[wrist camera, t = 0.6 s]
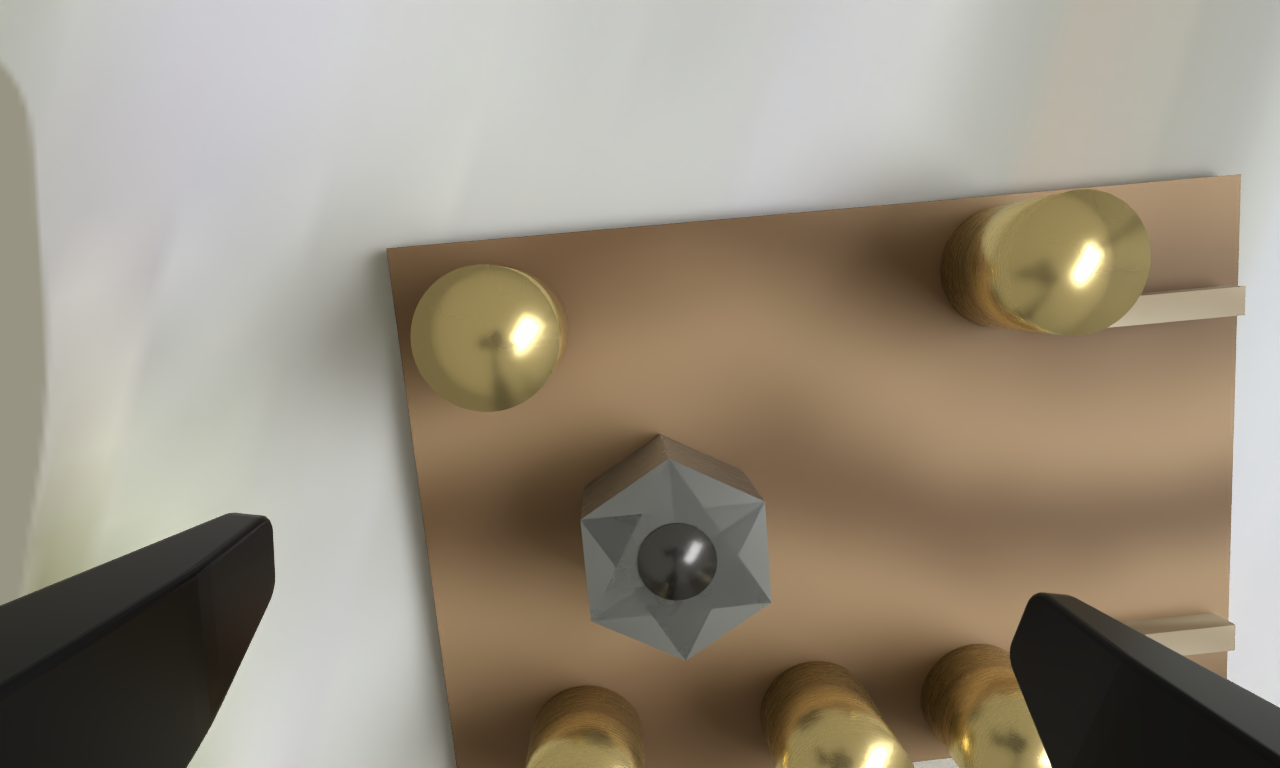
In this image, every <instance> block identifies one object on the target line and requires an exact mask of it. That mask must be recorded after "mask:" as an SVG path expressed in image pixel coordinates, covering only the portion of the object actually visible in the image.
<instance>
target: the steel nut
mask: <svg viewBox="0 0 1280 768" xmlns="http://www.w3.org/2000/svg"><path fill="white" fill-rule="evenodd" d="M580 521H581V531H582V541H583V550H584V560H585V570H586V579H587V589H588V598H589V608H590V618H591V621H592V622H594V623H597V624H599V625H601V626H604V627H606V628H609V629H611V630H613V631H616V632H618V633H621V634H623V635H625V636H628V637H630V638H633V639H635V640H637V641H640V642H642V643H645V644H647V645H649V646H652V647H654V648H657V649H659V650H661V651H664V652H666V653H668V654H671V655H673V656H676V657H678V658H680V659H683V660H685V661H686V660H688V659H689V658H690V657H692V656H693V655H695V654H696V653H698V652H699V651H701V650H702V649H704V648H705V647H707V646H708V645H710V644H711V643H713V642H714V641H716V640H717V639H718V638H720V637H721V636H723V635H724V634H726V633H727V632H729V631H730V630H732V629H733V628H735V627H736V626H738V625H739V624H741V623H742V622H744V621H745V620H746V619H748V618H749V617H751V616H752V615H754V614H755V613H757V612H758V611H760V610H761V609H763V608H764V607H766V606H767V605H769V604H770V603H772V600H771V585H770V570H769V555H768V540H767V525H766V510H765V501H764V500H763V498H762V497H761V495H760V494H759V493H758V491H757V490H756V488H755V487H754V486H753V484H752V483H751V482H750V480H749V479H748V477H747V476H746V475H745V473H744V472H743V471H742V470H740V469H738V468H736V467H733V466H731V465H729V464H727V463H724V462H722V461H720V460H718V459H715V458H713V457H711V456H709V455H707V454H704V453H702V452H700V451H698V450H695V449H693V448H691V447H689V446H687V445H684V444H682V443H680V442H678V441H675V440H673V439H671V438H669V437H667V436H664V435H662V434H659V435H657V436H656V437H654V438H653V439H651V440H650V441H649V442H647V443H646V444H644V445H643V446H641V447H640V448H639V449H637V450H636V451H634V452H633V453H631V454H630V455H629V456H627V457H626V458H624V459H623V460H621V461H620V462H618V463H617V464H616V465H614V466H613V467H611V468H610V469H608V470H607V471H606V472H604V473H603V474H601V475H600V476H598V477H597V478H596V479H594V480H593V481H591V482H590V483H588V484H587V485H585V486H584V494H583V502H582V510H581V518H580Z"/></svg>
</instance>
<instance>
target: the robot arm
mask: <svg viewBox="0 0 1280 768" xmlns="http://www.w3.org/2000/svg"><path fill="white" fill-rule="evenodd" d="M274 585H275V565H274V546H273V529H272V525H271V522H270V520H269V519H268V518H267V517H265V516H261V515H251V514H241V513H228V514H225V515H223V516H220V517H218V518H215V519H213V520H210V521H208V522H205V523H203V524H200V525H198V526H195V527H193V528H191V529H188V530H186V531H183V532H181V533H178V534H176V535H173V536H171V537H168V538H166V539H163V540H161V541H158V542H156V543H154V544H151V545H149V546H146V547H144V548H141V549H139V550H136V551H134V552H131V553H129V554H126V555H124V556H122V557H119V558H117V559H114V560H112V561H109V562H107V563H104V564H102V565H99V566H97V567H94V568H92V569H90V570H87V571H85V572H82V573H80V574H77V575H75V576H72V577H70V578H67V579H65V580H62V581H60V582H58V583H55V584H53V585H50V586H48V587H45V588H43V589H40V590H38V591H35V592H33V593H30V594H28V595H25V596H23V597H21V598H18V599H16V600H13V601H11V602H8V603H6V604H3V605H1V606H0V768H187V766H188V764H189V763H190V761H191V759H192V758H193V756H194V754H195V753H196V751H197V749H198V748H199V746H200V744H201V742H202V741H203V739H204V737H205V735H206V734H207V732H208V730H209V728H210V727H211V725H212V723H213V721H214V719H215V717H216V715H217V713H218V711H219V709H220V707H221V705H222V703H223V701H224V699H225V696H226V694H227V692H228V690H229V688H230V686H231V684H232V681H233V679H234V677H235V675H236V673H237V671H238V669H239V666H240V664H241V662H242V660H243V658H244V656H245V654H246V651H247V649H248V647H249V645H250V643H251V641H252V638H253V636H254V634H255V632H256V630H257V628H258V626H259V623H260V621H261V619H262V617H263V615H264V613H265V611H266V608H267V606H268V604H269V602H270V600H271V597H272V594H273V590H274ZM1010 662H1011V666H1012V669H1013V672H1014V674H1015V677H1016V679H1017V682H1018V684H1019V687H1020V689H1021V692H1022V694H1023V697H1024V699H1025V702H1026V704H1027V707H1028V709H1029V712H1030V714H1031V717H1032V719H1033V722H1034V724H1035V727H1036V729H1037V732H1038V734H1039V737H1040V739H1041V742H1042V744H1043V747H1044V749H1045V752H1046V754H1047V757H1048V759H1049V762H1050V764H1051V767H1052V768H1280V708H1279V707H1277V706H1276V705H1274V704H1272V703H1270V702H1268V701H1266V700H1264V699H1263V698H1261V697H1259V696H1257V695H1255V694H1253V693H1251V692H1250V691H1248V690H1246V689H1244V688H1242V687H1240V686H1238V685H1237V684H1235V683H1233V682H1231V681H1229V680H1227V679H1225V678H1224V677H1222V676H1220V675H1218V674H1216V673H1214V672H1213V671H1211V670H1209V669H1207V668H1205V667H1203V666H1201V665H1200V664H1198V663H1196V662H1194V661H1192V660H1190V659H1188V658H1187V657H1185V656H1183V655H1181V654H1179V653H1177V652H1175V651H1174V650H1172V649H1170V648H1168V647H1166V646H1164V645H1162V644H1161V643H1159V642H1157V641H1155V640H1153V639H1151V638H1149V637H1148V636H1146V635H1144V634H1142V633H1140V632H1138V631H1137V630H1135V629H1133V628H1131V627H1129V626H1127V625H1125V624H1124V623H1122V622H1120V621H1118V620H1116V619H1114V618H1112V617H1111V616H1109V615H1107V614H1105V613H1103V612H1101V611H1099V610H1098V609H1096V608H1094V607H1092V606H1090V605H1088V604H1086V603H1085V602H1083V601H1081V600H1079V599H1077V598H1075V597H1073V596H1070V595H1066V594H1055V593H1045V592H1039V593H1036V594H1034V595H1033V596H1032V597H1031V598H1030V599H1029V601H1028V602H1027V605H1026V607H1025V610H1024V612H1023V615H1022V617H1021V620H1020V622H1019V625H1018V627H1017V630H1016V632H1015V635H1014V637H1013V640H1012V642H1011V646H1010Z"/></svg>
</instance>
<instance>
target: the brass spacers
mask: <svg viewBox="0 0 1280 768" xmlns="http://www.w3.org/2000/svg"><path fill="white" fill-rule="evenodd" d="M1150 261H1151V251H1150V243H1149V238H1148V235H1147V232H1146V229H1145V227H1144V225H1143V223H1142V221H1141V219H1140V218H1139V216H1138V215H1137V213H1136V212H1135V211H1134V210H1133V209H1132V208H1131V207H1130V206H1129V205H1128V204H1127V203H1125V202H1124V201H1123V200H1121V199H1119V198H1118V197H1116V196H1114V195H1112V194H1109V193H1107V192H1103V191H1099V190H1092V189H1079V190H1073V191H1067V192H1063V193H1058V194H1053V195H1048V196H1043V197H1039V198H1034V199H1029V200H1024V201H1019V202H1015V203H1010V204H1005V205H1000V206H995V207H991V208H987V209H984V210H981V211H979V212H977V213H975V214H973V215H971V216H970V217H968V218H967V219H966V220H965V221H963V222H962V223H961V224H960V225H959V226H958V227H957V228H956V229H955V231H954V232H953V233H952V235H951V236H950V238H949V240H948V242H947V244H946V246H945V249H944V252H943V255H942V260H941V269H940V274H941V282H942V287H943V290H944V293H945V295H946V297H947V299H948V301H949V303H950V304H951V306H952V307H953V308H954V309H955V310H956V311H957V312H958V314H960V315H961V316H962V317H964V318H965V319H967V320H968V321H970V322H972V323H974V324H977V325H980V326H984V327H992V328H1002V329H1011V330H1020V331H1030V332H1039V333H1049V334H1058V335H1068V336H1081V335H1088V334H1092V333H1095V332H1099V331H1101V330H1103V329H1105V328H1108V327H1109V326H1111V325H1113V324H1114V323H1116V322H1117V321H1118V320H1120V319H1121V318H1122V317H1123V316H1124V315H1125V314H1126V313H1127V312H1128V311H1129V310H1130V309H1131V308H1132V307H1133V306H1134V304H1135V303H1136V302H1137V300H1138V298H1139V297H1140V295H1141V293H1142V291H1143V289H1144V287H1145V284H1146V281H1147V278H1148V275H1149V270H1150ZM410 338H411V348H412V353H413V357H414V360H415V363H416V365H417V367H418V369H419V372H420V374H421V375H422V377H423V378H424V380H425V381H426V382H427V383H428V385H429V386H430V387H431V388H432V389H433V390H434V391H435V392H436V393H437V394H438V395H440V396H441V397H442V398H444V399H445V400H447V401H448V402H450V403H452V404H454V405H456V406H459V407H462V408H464V409H468V410H472V411H480V412H495V411H501V410H506V409H509V408H513V407H515V406H517V405H519V404H521V403H523V402H525V401H526V400H528V399H530V398H531V397H532V396H533V395H535V394H536V393H537V392H538V391H539V390H540V389H541V388H542V387H543V385H544V384H545V383H546V381H547V380H548V379H549V377H550V376H551V374H552V373H553V371H554V370H555V368H556V367H557V365H558V364H559V362H560V360H561V358H562V356H563V354H564V352H565V349H566V345H567V341H568V321H567V316H566V313H565V309H564V307H563V305H562V303H561V301H560V299H559V297H558V296H557V294H556V293H555V292H554V291H553V289H552V288H551V287H550V286H549V285H548V284H546V283H545V282H544V281H543V280H541V279H540V278H538V277H536V276H535V275H533V274H530V273H528V272H525V271H522V270H518V269H513V268H508V267H502V266H497V265H489V264H476V265H470V266H465V267H462V268H458V269H456V270H453V271H451V272H449V273H447V274H446V275H444V276H442V277H441V278H439V279H438V280H437V281H436V282H435V283H433V284H432V285H431V286H430V288H429V289H428V290H427V291H426V292H425V294H424V295H423V296H422V298H421V299H420V301H419V303H418V305H417V307H416V310H415V313H414V315H413V319H412V324H411V335H410ZM921 707H922V712H923V715H924V718H925V720H926V722H927V724H928V725H929V727H930V728H931V730H932V731H933V732H934V734H935V735H936V736H937V738H938V739H939V741H940V742H941V743H942V745H943V746H944V747H945V749H946V750H947V752H948V753H949V754H950V756H951V757H952V758H953V760H954V761H955V763H956V764H957V765H958V767H959V768H1052V767H1051V764H1050V762H1049V759H1048V757H1047V754H1046V752H1045V749H1044V747H1043V744H1042V742H1041V739H1040V737H1039V734H1038V732H1037V729H1036V727H1035V724H1034V722H1033V719H1032V717H1031V714H1030V712H1029V709H1028V707H1027V704H1026V702H1025V699H1024V697H1023V694H1022V692H1021V689H1020V687H1019V684H1018V682H1017V679H1016V677H1015V674H1014V672H1013V669H1012V666H1011V662H1010V653H1009V652H1007V651H1006V650H1004V649H1002V648H999V647H997V646H993V645H988V644H972V645H966V646H963V647H959V648H957V649H955V650H953V651H951V652H949V653H948V654H946V655H945V656H943V657H942V658H941V659H940V660H939V661H938V662H937V663H936V664H935V665H934V666H933V667H932V669H931V670H930V672H929V673H928V675H927V677H926V679H925V681H924V684H923V687H922V693H921ZM760 722H761V727H762V731H763V734H764V737H765V740H766V743H767V746H768V748H769V751H770V754H771V757H772V760H773V763H774V766H775V768H914V765H913V763H912V762H911V760H910V758H909V757H908V755H907V754H906V752H905V750H904V749H903V747H902V746H901V744H900V743H899V741H898V739H897V738H896V736H895V735H894V733H893V732H892V730H891V728H890V727H889V725H888V724H887V722H886V721H885V719H884V717H883V716H882V714H881V713H880V711H879V710H878V708H877V706H876V705H875V703H874V702H873V700H872V699H871V697H870V695H869V694H868V692H867V691H866V689H865V688H864V686H863V684H862V683H861V681H860V680H859V679H858V678H857V677H856V676H855V675H854V674H853V673H852V672H851V671H849V670H848V669H846V668H844V667H842V666H840V665H838V664H835V663H831V662H826V661H811V662H805V663H801V664H798V665H796V666H793V667H791V668H789V669H788V670H786V671H784V672H783V673H782V674H780V675H779V676H778V677H777V678H776V679H775V680H774V681H773V682H772V684H771V685H770V686H769V688H768V689H767V691H766V693H765V695H764V697H763V700H762V704H761V709H760ZM525 768H646V767H645V754H644V740H643V730H642V724H641V721H640V718H639V716H638V714H637V712H636V711H635V709H634V708H633V706H632V705H631V704H630V703H629V702H628V701H627V700H626V699H625V698H624V697H622V696H621V695H619V694H618V693H616V692H614V691H612V690H610V689H607V688H604V687H599V686H591V685H586V686H577V687H572V688H569V689H566V690H564V691H561V692H559V693H558V694H556V695H554V696H553V697H552V698H550V699H549V700H548V701H547V702H546V703H545V704H544V705H543V706H542V708H541V709H540V710H539V712H538V714H537V715H536V717H535V720H534V722H533V726H532V730H531V735H530V741H529V747H528V752H527V758H526V764H525Z"/></svg>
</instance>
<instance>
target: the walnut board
mask: <svg viewBox="0 0 1280 768" xmlns="http://www.w3.org/2000/svg"><path fill="white" fill-rule="evenodd" d="M1240 187H1241V174H1238V175H1227V176H1215V177H1204V178H1192V179H1181V180H1169V181H1158V182H1146V183H1135V184H1123V185H1112V186H1100V187H1089V188H1077V189H1066V190H1054V191H1043V192H1031V193H1020V194H1008V195H997V196H985V197H974V198H962V199H951V200H939V201H928V202H916V203H905V204H893V205H882V206H870V207H859V208H847V209H836V210H824V211H813V212H801V213H790V214H778V215H767V216H755V217H744V218H732V219H721V220H709V221H698V222H686V223H675V224H663V225H652V226H640V227H628V228H617V229H605V230H594V231H582V232H571V233H559V234H548V235H536V236H525V237H513V238H502V239H490V240H479V241H467V242H456V243H444V244H433V245H421V246H410V247H398V248H387V256H388V263H389V271H390V278H391V285H392V293H393V300H394V307H395V315H396V322H397V329H398V337H399V344H400V351H401V359H402V366H403V374H404V381H405V388H406V396H407V403H408V410H409V418H410V425H411V432H412V440H413V447H414V455H415V462H416V469H417V477H418V484H419V491H420V499H421V506H422V513H423V521H424V528H425V535H426V543H427V550H428V558H429V565H430V572H431V580H432V587H433V594H434V602H435V609H436V616H437V624H438V631H439V639H440V646H441V653H442V661H443V668H444V675H445V683H446V690H447V697H448V705H449V712H450V719H451V727H452V734H453V742H454V749H455V756H456V764H457V768H525V764H526V758H527V752H528V747H529V741H530V735H531V730H532V726H533V722H534V720H535V717H536V715H537V714H538V712H539V710H540V709H541V708H542V706H543V705H544V704H545V703H546V702H547V701H548V700H549V699H550V698H552V697H553V696H554V695H556V694H558V693H559V692H561V691H564V690H566V689H569V688H572V687H577V686H586V685H591V686H599V687H604V688H607V689H610V690H612V691H614V692H616V693H618V694H619V695H621V696H622V697H624V698H625V699H626V700H627V701H628V702H629V703H630V704H631V705H632V706H633V708H634V709H635V711H636V712H637V714H638V716H639V718H640V721H641V724H642V730H643V740H644V754H645V767H646V768H775V766H774V763H773V760H772V757H771V754H770V751H769V748H768V746H767V743H766V740H765V737H764V734H763V731H762V727H761V722H760V709H761V704H762V700H763V697H764V695H765V693H766V691H767V689H768V688H769V686H770V685H771V684H772V682H773V681H774V680H775V679H776V678H777V677H778V676H779V675H780V674H782V673H783V672H784V671H786V670H788V669H789V668H791V667H793V666H796V665H798V664H801V663H805V662H811V661H826V662H831V663H835V664H838V665H840V666H842V667H844V668H846V669H848V670H849V671H851V672H852V673H853V674H854V675H855V676H856V677H857V678H858V679H859V680H860V681H861V683H862V684H863V686H864V688H865V689H866V691H867V692H868V694H869V695H870V697H871V699H872V700H873V702H874V703H875V705H876V706H877V708H878V710H879V711H880V713H881V714H882V716H883V717H884V719H885V721H886V722H887V724H888V725H889V727H890V728H891V730H892V732H893V733H894V735H895V736H896V738H897V739H898V741H899V743H900V744H901V746H902V747H903V749H904V750H905V752H906V754H907V755H908V757H909V758H910V760H911V762H917V761H926V760H935V759H944V758H952V757H951V756H950V754H949V753H948V752H947V750H946V749H945V747H944V746H943V745H942V743H941V742H940V741H939V739H938V738H937V736H936V735H935V734H934V732H933V731H932V730H931V728H930V727H929V725H928V724H927V722H926V720H925V718H924V715H923V712H922V707H921V693H922V687H923V684H924V681H925V679H926V677H927V675H928V673H929V672H930V670H931V669H932V667H933V666H934V665H935V664H936V663H937V662H938V661H939V660H940V659H941V658H942V657H943V656H945V655H946V654H948V653H949V652H951V651H953V650H955V649H957V648H959V647H963V646H966V645H972V644H988V645H993V646H997V647H999V648H1002V649H1004V650H1006V651H1007V652H1009V653H1010V646H1011V642H1012V640H1013V637H1014V635H1015V632H1016V630H1017V627H1018V625H1019V622H1020V620H1021V617H1022V615H1023V612H1024V610H1025V607H1026V605H1027V602H1028V601H1029V599H1030V598H1031V597H1032V596H1033V595H1034V594H1036V593H1039V592H1045V593H1055V594H1066V595H1070V596H1073V597H1075V598H1077V599H1079V600H1081V601H1083V602H1085V603H1086V604H1088V605H1090V606H1092V607H1094V608H1096V609H1098V610H1099V611H1101V612H1103V613H1105V614H1107V615H1109V616H1111V617H1112V618H1114V619H1116V620H1118V621H1120V622H1122V623H1124V624H1125V625H1127V626H1129V627H1131V628H1133V629H1135V630H1137V631H1138V632H1140V633H1142V634H1144V635H1146V636H1148V637H1149V638H1151V639H1153V640H1155V641H1157V642H1159V643H1161V644H1162V645H1164V646H1166V647H1168V648H1170V649H1172V650H1174V651H1175V652H1177V653H1179V654H1181V655H1183V656H1185V657H1187V658H1188V659H1190V660H1192V661H1194V662H1196V663H1198V664H1200V665H1201V666H1203V667H1205V668H1207V669H1209V670H1211V671H1213V672H1214V673H1216V674H1218V675H1220V676H1222V677H1224V678H1225V679H1227V651H1231V650H1235V625H1234V624H1233V623H1231V622H1229V621H1228V609H1229V574H1230V539H1231V504H1232V469H1233V433H1234V398H1235V363H1236V328H1237V316H1239V315H1245V286H1238V257H1239V222H1240ZM1079 189H1092V190H1099V191H1103V192H1107V193H1109V194H1112V195H1114V196H1116V197H1118V198H1119V199H1121V200H1123V201H1124V202H1125V203H1127V204H1128V205H1129V206H1130V207H1131V208H1132V209H1133V210H1134V211H1135V212H1136V213H1137V215H1138V216H1139V218H1140V219H1141V221H1142V223H1143V225H1144V227H1145V229H1146V232H1147V235H1148V238H1149V243H1150V251H1151V261H1150V270H1149V275H1148V278H1147V281H1146V284H1145V287H1144V289H1143V291H1142V293H1141V295H1140V297H1139V298H1138V300H1137V302H1136V303H1135V304H1134V306H1133V307H1132V308H1131V309H1130V310H1129V311H1128V312H1127V313H1126V314H1125V315H1124V316H1123V317H1122V318H1121V319H1120V320H1118V321H1117V322H1116V323H1114V324H1113V325H1111V326H1109V327H1108V328H1105V329H1103V330H1101V331H1099V332H1095V333H1092V334H1088V335H1081V336H1068V335H1058V334H1049V333H1039V332H1030V331H1020V330H1011V329H1002V328H992V327H984V326H980V325H977V324H974V323H972V322H970V321H968V320H967V319H965V318H964V317H962V316H961V315H960V314H958V312H957V311H956V310H955V309H954V308H953V307H952V306H951V304H950V303H949V301H948V299H947V297H946V295H945V293H944V290H943V287H942V282H941V274H940V269H941V260H942V255H943V252H944V249H945V246H946V244H947V242H948V240H949V238H950V236H951V235H952V233H953V232H954V231H955V229H956V228H957V227H958V226H959V225H960V224H961V223H962V222H963V221H965V220H966V219H967V218H968V217H970V216H971V215H973V214H975V213H977V212H979V211H981V210H984V209H987V208H991V207H995V206H1000V205H1005V204H1010V203H1015V202H1019V201H1024V200H1029V199H1034V198H1039V197H1043V196H1048V195H1053V194H1058V193H1063V192H1067V191H1073V190H1079ZM476 264H489V265H497V266H502V267H508V268H513V269H518V270H522V271H525V272H528V273H530V274H533V275H535V276H536V277H538V278H540V279H541V280H543V281H544V282H545V283H546V284H548V285H549V286H550V287H551V288H552V289H553V291H554V292H555V293H556V294H557V296H558V297H559V299H560V301H561V303H562V305H563V307H564V309H565V313H566V316H567V321H568V341H567V345H566V349H565V352H564V354H563V356H562V358H561V360H560V362H559V364H558V365H557V367H556V368H555V370H554V371H553V373H552V374H551V376H550V377H549V379H548V380H547V381H546V383H545V384H544V385H543V387H542V388H541V389H540V390H539V391H538V392H537V393H536V394H535V395H533V396H532V397H531V398H530V399H528V400H526V401H525V402H523V403H521V404H519V405H517V406H515V407H513V408H509V409H506V410H501V411H495V412H480V411H472V410H468V409H464V408H462V407H459V406H456V405H454V404H452V403H450V402H448V401H447V400H445V399H444V398H442V397H441V396H440V395H438V394H437V393H436V392H435V391H434V390H433V389H432V388H431V387H430V386H429V385H428V383H427V382H426V381H425V380H424V378H423V377H422V375H421V374H420V372H419V369H418V367H417V365H416V363H415V360H414V357H413V353H412V348H411V338H410V335H411V324H412V319H413V315H414V313H415V310H416V307H417V305H418V303H419V301H420V299H421V298H422V296H423V295H424V294H425V292H426V291H427V290H428V289H429V288H430V286H431V285H432V284H433V283H435V282H436V281H437V280H438V279H439V278H441V277H442V276H444V275H446V274H447V273H449V272H451V271H453V270H456V269H458V268H462V267H465V266H470V265H476ZM659 434H662V435H664V436H667V437H669V438H671V439H673V440H675V441H678V442H680V443H682V444H684V445H687V446H689V447H691V448H693V449H695V450H698V451H700V452H702V453H704V454H707V455H709V456H711V457H713V458H715V459H718V460H720V461H722V462H724V463H727V464H729V465H731V466H733V467H736V468H738V469H740V470H742V471H743V472H744V473H745V475H746V476H747V477H748V479H749V480H750V482H751V483H752V484H753V486H754V487H755V488H756V490H757V491H758V493H759V494H760V495H761V497H762V498H763V500H764V501H765V510H766V525H767V540H768V555H769V570H770V585H771V600H772V603H770V604H769V605H767V606H766V607H764V608H763V609H761V610H760V611H758V612H757V613H755V614H754V615H752V616H751V617H749V618H748V619H746V620H745V621H744V622H742V623H741V624H739V625H738V626H736V627H735V628H733V629H732V630H730V631H729V632H727V633H726V634H724V635H723V636H721V637H720V638H718V639H717V640H716V641H714V642H713V643H711V644H710V645H708V646H707V647H705V648H704V649H702V650H701V651H699V652H698V653H696V654H695V655H693V656H692V657H690V658H689V659H688V660H686V661H685V660H683V659H680V658H678V657H676V656H673V655H671V654H668V653H666V652H664V651H661V650H659V649H657V648H654V647H652V646H649V645H647V644H645V643H642V642H640V641H637V640H635V639H633V638H630V637H628V636H625V635H623V634H621V633H618V632H616V631H613V630H611V629H609V628H606V627H604V626H601V625H599V624H597V623H594V622H592V621H591V618H590V608H589V598H588V589H587V579H586V570H585V560H584V550H583V541H582V531H581V521H580V518H581V510H582V502H583V494H584V486H585V485H587V484H588V483H590V482H591V481H593V480H594V479H596V478H597V477H598V476H600V475H601V474H603V473H604V472H606V471H607V470H608V469H610V468H611V467H613V466H614V465H616V464H617V463H618V462H620V461H621V460H623V459H624V458H626V457H627V456H629V455H630V454H631V453H633V452H634V451H636V450H637V449H639V448H640V447H641V446H643V445H644V444H646V443H647V442H649V441H650V440H651V439H653V438H654V437H656V436H657V435H659Z"/></svg>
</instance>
